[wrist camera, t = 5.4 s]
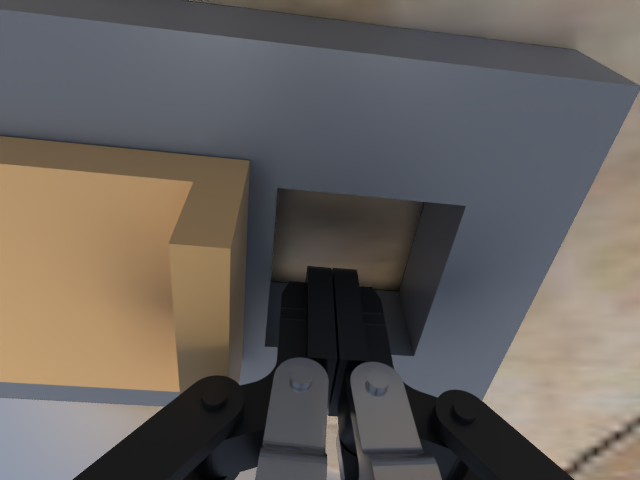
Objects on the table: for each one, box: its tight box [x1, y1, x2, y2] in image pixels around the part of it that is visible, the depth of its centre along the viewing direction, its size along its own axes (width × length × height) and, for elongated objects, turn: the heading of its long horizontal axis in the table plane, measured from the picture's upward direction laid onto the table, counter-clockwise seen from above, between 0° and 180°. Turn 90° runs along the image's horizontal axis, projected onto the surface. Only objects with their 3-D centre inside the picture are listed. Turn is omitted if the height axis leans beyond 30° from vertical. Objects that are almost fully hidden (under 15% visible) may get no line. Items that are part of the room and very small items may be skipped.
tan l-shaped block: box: [0, 136, 250, 394], centre depth 13 cm, size 8×8×4 cm
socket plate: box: [0, 0, 640, 415], centre depth 16 cm, size 14×20×4 cm
